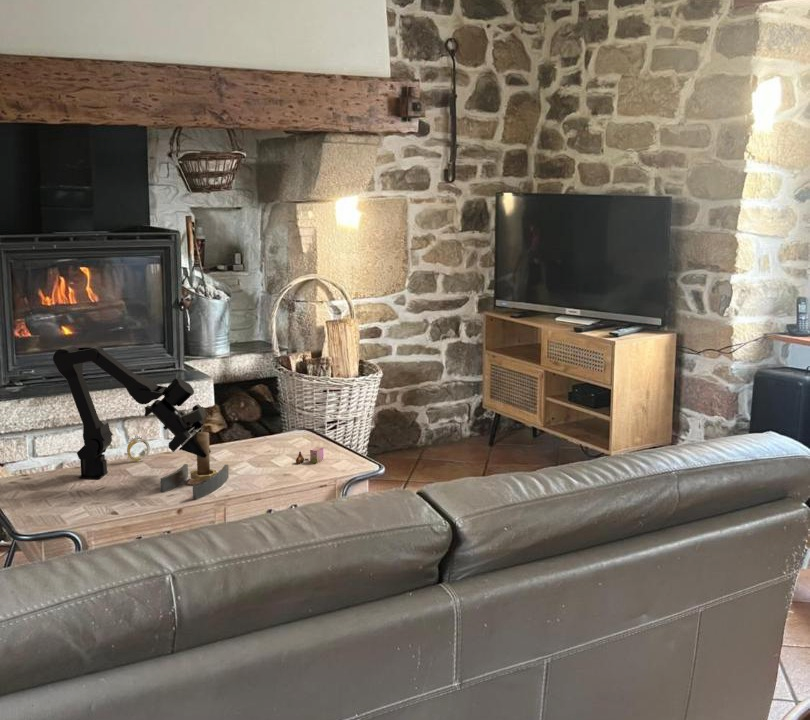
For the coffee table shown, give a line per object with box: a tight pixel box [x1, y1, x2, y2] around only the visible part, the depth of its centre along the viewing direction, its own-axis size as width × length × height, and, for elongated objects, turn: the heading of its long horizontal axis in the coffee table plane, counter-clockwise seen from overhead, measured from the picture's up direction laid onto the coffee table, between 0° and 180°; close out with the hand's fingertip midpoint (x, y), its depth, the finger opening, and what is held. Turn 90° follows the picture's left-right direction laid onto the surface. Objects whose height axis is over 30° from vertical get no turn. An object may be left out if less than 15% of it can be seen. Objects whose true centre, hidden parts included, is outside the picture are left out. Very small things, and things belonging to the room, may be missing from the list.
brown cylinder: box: [189, 431, 217, 480], centre depth 283 cm, size 7×7×13 cm
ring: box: [126, 435, 151, 463], centre depth 302 cm, size 7×3×8 cm, turn 118°
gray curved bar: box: [159, 463, 230, 501], centre depth 278 cm, size 16×21×4 cm
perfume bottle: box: [295, 446, 325, 465], centre depth 303 cm, size 12×12×4 cm
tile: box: [187, 478, 204, 485], centre depth 285 cm, size 8×8×1 cm
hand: (207, 454), depth 283 cm, fingers closed on brown cylinder, 3 cm apart
